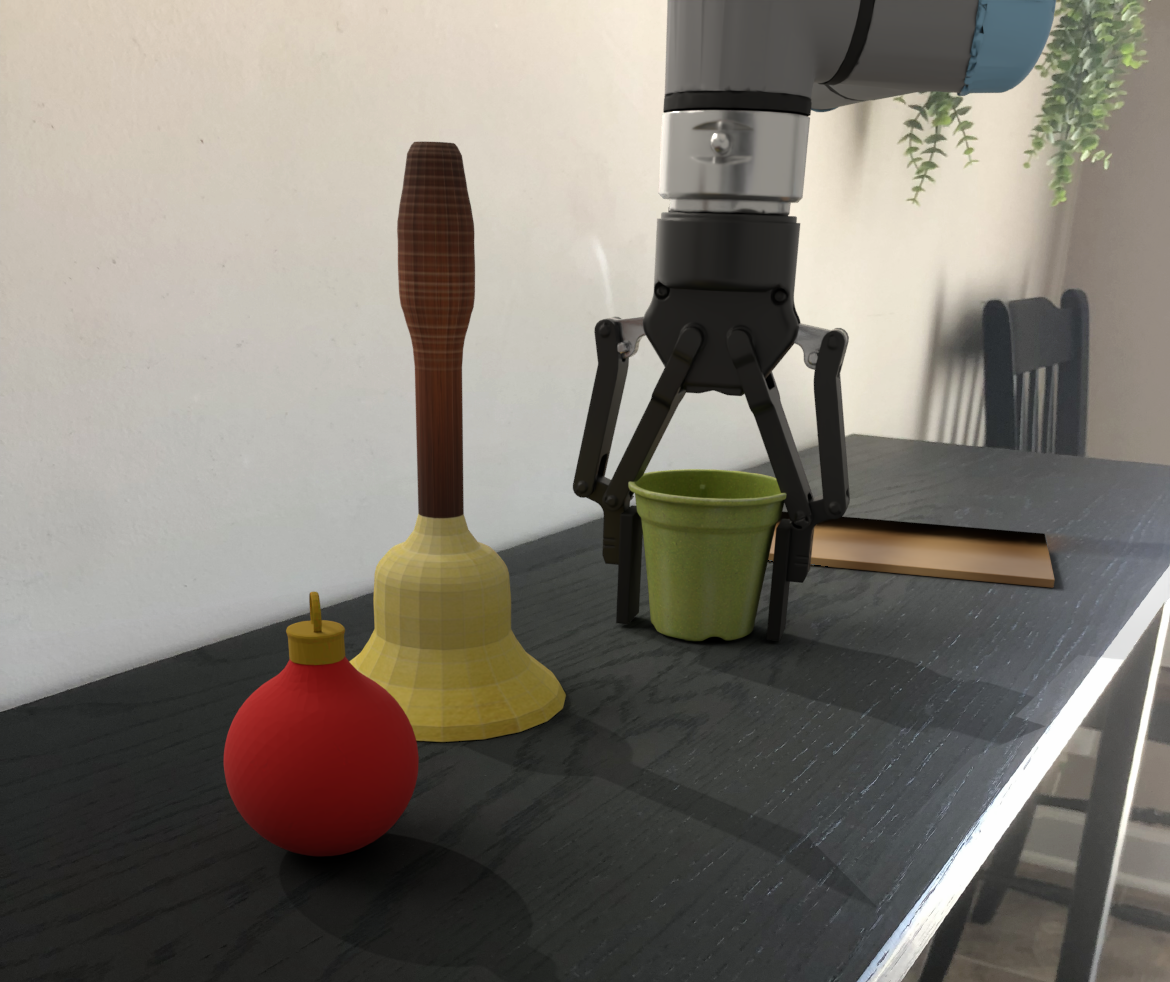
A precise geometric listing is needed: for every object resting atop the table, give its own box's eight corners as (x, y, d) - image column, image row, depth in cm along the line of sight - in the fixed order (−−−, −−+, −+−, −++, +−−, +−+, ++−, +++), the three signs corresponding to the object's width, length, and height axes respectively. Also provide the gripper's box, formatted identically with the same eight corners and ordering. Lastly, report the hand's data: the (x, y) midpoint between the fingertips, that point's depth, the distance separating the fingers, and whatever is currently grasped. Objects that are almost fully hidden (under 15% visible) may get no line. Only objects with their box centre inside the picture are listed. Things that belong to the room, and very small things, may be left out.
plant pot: (591, 632, 74) (596, 483, 71) (672, 598, 82) (680, 461, 78) (733, 664, 70) (746, 507, 66) (805, 625, 77) (820, 481, 73)
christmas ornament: (435, 879, 46) (429, 615, 42) (235, 900, 44) (209, 627, 40) (405, 799, 53) (397, 562, 48) (229, 816, 51) (205, 571, 47)
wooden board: (1041, 532, 102) (1043, 525, 102) (1053, 588, 86) (1054, 579, 86) (770, 509, 108) (771, 502, 107) (734, 558, 92) (735, 549, 92)
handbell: (470, 643, 72) (465, 152, 62) (616, 704, 64) (639, 148, 53) (274, 687, 64) (232, 137, 54) (411, 763, 56) (391, 129, 46)
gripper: (515, 201, 66) (512, 624, 75) (933, 213, 60) (875, 664, 70) (557, 204, 72) (550, 592, 81) (938, 215, 67) (884, 627, 76)
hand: (700, 625), depth 75 cm, fingers closed on plant pot, 8 cm apart
